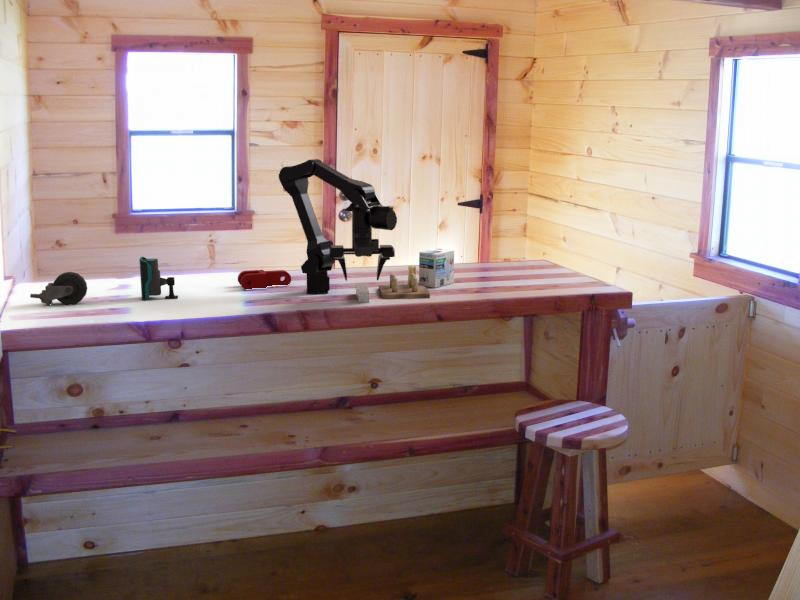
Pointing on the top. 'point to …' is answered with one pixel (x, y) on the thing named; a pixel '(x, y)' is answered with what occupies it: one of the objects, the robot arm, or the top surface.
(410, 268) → the brass pin
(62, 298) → the caster wheel
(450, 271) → the light bulb box
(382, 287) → the peg board
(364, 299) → the grey rectangular block
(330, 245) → the robot arm
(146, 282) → the surveillance camera
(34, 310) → the top surface
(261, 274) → the mechanical linkage
